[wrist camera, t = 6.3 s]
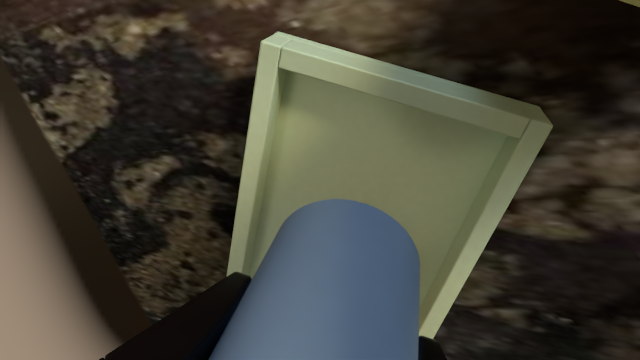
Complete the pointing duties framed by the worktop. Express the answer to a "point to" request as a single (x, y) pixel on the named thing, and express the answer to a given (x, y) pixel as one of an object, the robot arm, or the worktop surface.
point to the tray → (381, 157)
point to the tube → (632, 2)
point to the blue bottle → (330, 290)
